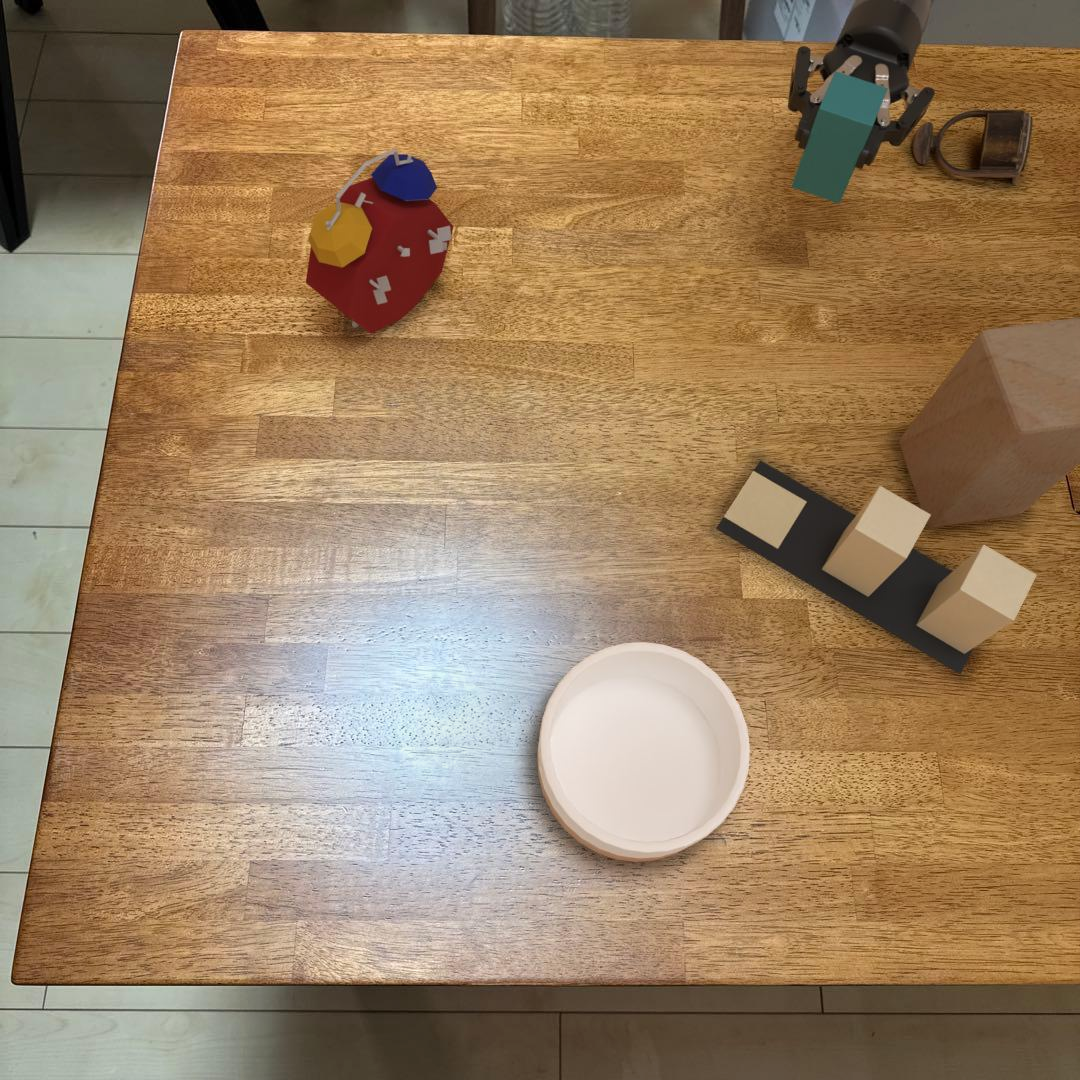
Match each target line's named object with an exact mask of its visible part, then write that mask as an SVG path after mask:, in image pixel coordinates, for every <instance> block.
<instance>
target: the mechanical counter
mask: <svg viewBox="0 0 1080 1080" xmlns="http://www.w3.org/2000/svg"><path fill="white" fill-rule="evenodd" d="M971 118H972V119H973V118H975V119H979V118H980V119H985V120H984V127H983V131H982V136H981V141H980V142H981V143H980V146H979V152H978V153H979V155H980V162H979V166H978V169H962V168H959V167H955V166H953V165H952V164H950V163H949V162H948V161H947V160H946V158H945V157H944V155H943V154H942V151H941V142H942V139H943V137H944V135H945V133H946V132H947V131H948V129H950V128H951V126H952V125H955V124H956V123H959V122H961V121H963V120H966V119H971ZM1033 122H1034V120H1033V116H1032V115H1031V113H1030V112H1026V111H1025V110H1022V109H972V110H967V111H964V112H961V113H959V114H957V115H954V116H953V117H951V118H950V119H948V120H947V121H946V122H945V123H944V124H943V125H942V126H941V128H940V129H939V131H938V133H937V135H934V125H933V123H932V122H931V121H927V122H924V123H922V124H921V125H920V126H919V128H918V129H917V130H916V132H915V134H914V136H913V140H912V153H913V157H914V159H915V161H916V162H917V163H918V164H919V165H926V164H927V163H928V162H929V159H930V155H931V152H934V153H935V157H936V160H937V162H938V163H939V165H940V166H941V167H942V168H943V169H944V170H946V171H947V172H948V173H949V174H952V175H955V176H960V177H964V178H999V179H1000V178H1002V179H1003V178H1006V179H1007V178H1008V179H1009V178H1011V184H1012V185H1014V186H1015V185H1017V184H1018V182H1019V179H1020V175H1021V174H1022V172H1024V170H1025V167H1026V163H1027V161H1028V157H1029V152H1030V147H1031V146H1030V145H1031V137H1032V133H1033V124H1034V123H1033Z"/></svg>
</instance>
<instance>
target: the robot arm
mask: <svg viewBox="0 0 1080 1080" xmlns="http://www.w3.org/2000/svg"><path fill="white" fill-rule="evenodd" d="M934 2H935V0H854V2H853V4H852V6H851V8H850V10H849V13H848V14H847V16H846V19H845V21H844V24H843V26H842V29H841V30H840V33H839V35H838V38H837V40H836V42H835V45H834V46H833V49H831V50H830V51H828V52H826V54H825V55H824V56H820V55H813V54H812V53H811V52H812V51H811V48H810V47H808V46H806V45H802V46H799V47H798V49H797V52H796V55H795V58H794V60H793V61H794V62H793V64H792V67H791V73H790V74H791V75H790V83H789V90H788V100H787V109H788V110H789V111H790V112H793V113H797V112H799V113H800V114H801V117H800V119H799V121H798V124H797V126H796V130H795V133H794V141H796V142H798V145H797V148H798V149H800V150H803V151H804V150H805V147H806V144H807V142H808V139H809V136H810V132H811V129H812V127H813V124H814V121H815V118H816V115H817V113H818V110H819V107H820V105H821V103H822V100H823V98H824V96H825V93H826V91H827V89H828V87H829V84H830V82H831V80H832V77H833V75H834V73H835V71H837V72H840V73H843V74H846V75H849V76H852V77H855V78H858V79H861V80H864V81H867V82H870V83H873V84H876V85H879V86H882V87H885V88H888V90H887V92H886V95H885V97H884V100H883V102H882V105H881V107H880V110H879V112H878V115H877V117H876V120H875V122H874V125H873V127H872V129H871V132H870V134H869V136H868V139H867V141H866V143H865V146H864V148H863V150H862V152H861V154H860V156H859V159H858V161H857V163H856V166H855V169H859V170H863V168H864V166H868V167H870V166H871V165H872V164H874V162H875V159H876V156H877V155H878V152H879V150H880V147H881V144H882V143H886V142H887V143H889V144H890V145H891V146H892V147H900V146H901V145H902V144H903V143H904V141H905V140H906V139H907V138H908V137H909V135H910V134H911V133H912V131H913V130H914V129H915V128H916V126H917V125H918V124H919V123H920V121H922V119H923V117H924V116H925V115H926V113H927V111H928V109H929V107H930V105H931V103H932V101H933V99H934V96H935V95H936V91H935V89H934V88H933V87H931V86H925V87H923V88H922V89H921V90H919V89H917V88H916V87H914V86H912V85H910V77H909V71H910V68H911V66H912V64H913V61H914V58H915V56H916V54H917V51H918V49H919V46H920V45H921V42H922V38H923V36H924V33H925V30H926V28H927V25H928V22H929V17H930V13H931V12H930V11H931V9H932V6H933V4H934ZM817 72H819V74H820V76H821V78H822V81H823V83H822V85H821V86H819V88H817V89H816V90H815V91H814V92H813V93H811V92H810V91H809V90H808V81H809V79H811V78H813V77H814V74H815V73H817ZM901 100H903V101H904V104H903V109H904V112H903V113H902V114H901V115H900V117H898V119H897V120H894V119H893V120H891V114H890V105H893V104H894V103H896V102H898V101H901Z"/></svg>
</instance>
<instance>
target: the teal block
mask: <svg viewBox="0 0 1080 1080" xmlns="http://www.w3.org/2000/svg"><path fill="white" fill-rule="evenodd" d="M887 90H888V88H885V87H882V86H879V85H876V84H873V83H870V82H867V81H864V80H861V79H858V78H855V77H852V76H849V75H846V74H843V73H840V72H837V71H835V73H834V75H833V77H832V80H831V82H830V84H829V87H828V89H827V91H826V93H825V96H824V98H823V100H822V103H821V105H820V107H819V110H818V113H817V115H816V118H815V121H814V124H813V127H812V129H811V132H810V136H809V139H808V142H807V144H806V147H805V150H804V149H803V152H802V154H801V158H800V160H799V163H798V166H797V168H796V172H795V174H794V177H793V180H792V183H791V186H790V188H792V189H794V190H795V189H796V190H798V191H800V192H803V193H806V194H810V195H812V196H815V197H818V198H821V199H824V200H827V201H830V202H832V203H835V204H838V205H840V204H841V201H842V200H843V197H844V195H845V193H846V190H847V188H848V185H849V183H850V180H851V178H852V176H853V173H854V171H855V169H856V167H855V166H856V163H857V161H858V159H859V156H860V154H861V152H862V150H863V148H864V146H865V143H866V141H867V139H868V136H869V134H870V132H871V129H872V127H873V125H874V122H875V120H876V117H877V115H878V112H879V110H880V107H881V105H882V102H883V100H884V97H885V95H886V92H887Z"/></svg>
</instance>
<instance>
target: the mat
mask: <svg viewBox="0 0 1080 1080" xmlns="http://www.w3.org/2000/svg"><path fill="white" fill-rule="evenodd" d="M856 515H857V514H854V513H853V512H851V511H849V510H847V509H846V508H844V507H842V506H840V504H836V503H835V502H833V501H832V500H830V499H828V498H827V497H825V496H824V495H821V494H820V493H818V492H816V491H815V490H813V489H811V488H809V487H807V486H806V485H804V484H803V483H800V482H799V481H797V480H796V479H794V478H792V477H790V476H789V475H787V474H785V473H783V472H781V471H780V470H778V469H776V468H775V467H773V466H771V465H769V464H767V463H766V462H764V461H762V460H759V462H758V463H757V465H756V466H755V468H754V469H753V471H752V472H751V474H750V476H749V477H748V478H747V480H746V482H745V483H744V484H743V486H742V488H741V490H740V491H739V492H738V494H737V495H736V497H735V498H734V500H733V502H732V503H731V504H730V506H729V508H728V509H727V511H726V512H725V514H724V515H723V517H722V519H721V521H720V522H719V523H718V525H717V527H716V528H715V529H716V530H717V531H719V532H720V533H722V534H724V535H725V536H726V537H728V538H730V539H732V540H734V541H736V542H737V543H738V544H740V545H742V546H744V547H745V548H747V549H749V550H751V551H752V552H753V553H756V554H757V555H759V556H760V557H762V558H764V559H766V560H767V561H769V562H771V563H772V564H774V565H776V566H777V567H779V568H781V569H783V570H784V571H786V572H788V573H789V574H790V575H792V576H794V577H795V578H798V580H801V581H803V582H804V583H806V584H807V585H809V586H811V587H813V588H814V589H816V590H818V591H819V592H821V593H823V594H824V595H826V596H827V597H829V598H831V599H832V600H835V601H836V602H837V603H840V604H841V605H842V606H845V607H846V608H848V609H849V610H851V611H852V612H854V613H856V614H857V615H859V616H861V617H863V618H864V619H866V620H868V621H869V622H871V623H872V624H875V625H876V626H878V627H879V628H881V629H883V630H885V631H886V632H888V633H889V634H891V635H893V636H895V637H896V638H898V639H899V640H901V641H903V642H905V643H906V644H908V645H909V646H912V647H913V648H915V649H917V650H919V652H921V653H923V654H925V655H926V656H928V657H929V658H931V659H933V660H935V661H937V662H938V663H940V664H942V665H943V666H945V667H947V668H948V669H950V670H952V671H953V672H955V673H957V674H958V675H961V674H962V672H963V670H964V668H965V666H966V664H967V663H968V660H969V658H970V656H971V655H972V652H973V651H974V649H975V647H974V648H972V649H971V650H969V651H968V652H966V653H965V654H964V653H962V652H960V651H959V650H957V649H955V648H954V647H952V646H950V645H949V644H947V643H945V642H944V641H942V640H940V639H938V638H937V637H935V636H933V635H932V634H930V633H928V632H927V631H925V630H923V629H922V628H920V627H918V626H917V625H916V624H917V623H918V621H919V619H920V617H921V615H922V613H923V611H924V610H925V608H926V606H927V604H928V602H929V600H930V598H931V597H932V595H933V593H934V591H935V589H936V587H937V585H938V584H939V583H940V582H941V581H942V580H944V579H945V578H946V577H947V576H948V575H949V574H950V573H952V572H953V571H954V570H952V569H949V568H948V567H946V566H944V565H943V564H941V563H939V562H938V561H936V560H934V559H932V558H931V557H929V556H927V555H926V554H924V553H923V552H920V551H918V550H917V549H915V548H914V547H913V548H912V550H911V552H910V553H909V555H908V557H907V559H906V560H905V561H904V562H903V563H902V564H901V565H900V566H899V567H898V568H897V569H896V570H895V571H894V572H893V573H892V574H891V575H890V576H889V577H888V578H887V579H886V580H885V581H884V582H883V583H882V584H881V585H880V586H879V587H878V588H877V589H876V590H875V591H874V592H873V593H872V594H871V595H870V596H869V597H868V596H866V595H864V594H862V593H861V592H859V591H857V590H856V589H854V588H852V587H851V586H849V585H847V584H846V583H844V582H842V581H841V580H839V579H837V578H835V577H834V576H832V575H830V574H829V573H827V572H825V571H824V570H822V568H823V566H824V564H825V563H826V561H827V559H828V558H829V556H830V554H831V553H832V551H833V549H834V548H835V546H836V544H837V542H838V541H839V539H840V537H841V536H842V534H843V532H844V531H845V529H846V528H847V527H848V525H849V524H850V523H851V522H852V520H853V519H854V518H855V517H856Z"/></svg>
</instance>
